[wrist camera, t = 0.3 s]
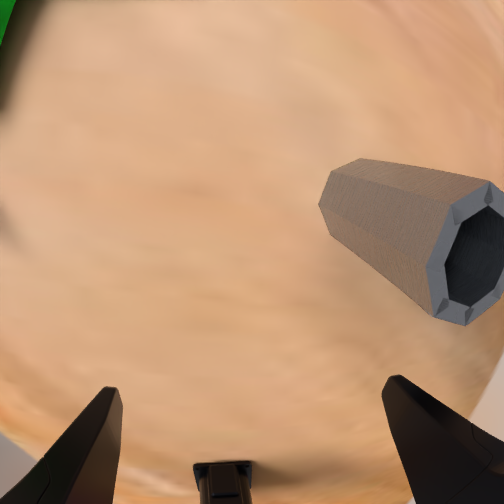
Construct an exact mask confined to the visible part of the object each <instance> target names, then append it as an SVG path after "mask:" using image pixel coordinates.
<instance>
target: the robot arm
mask: <svg viewBox="0 0 504 504" xmlns="http://www.w3.org/2000/svg"><path fill="white" fill-rule="evenodd" d="M382 400H383V404H384V408H385V412H386V415H387V419H388V423H389V427H390V431H391V434H392V437H393V439H394V442H395V445H396V448H397V450H398V453H399V456H400V459H401V461H402V464H403V467H404V470H405V473H406V476H407V478H408V481H409V484H410V487H411V490H412V493H413V496H414V499H415V502H416V504H504V442H503V441H501V440H499V439H497V438H495V437H494V436H492V435H490V434H488V433H487V432H485V431H484V430H482V429H480V428H479V427H477V426H476V425H474V424H473V423H471V422H470V421H468V420H467V419H465V418H464V417H462V416H461V415H459V414H458V413H456V412H455V411H453V410H452V409H450V408H449V407H447V406H446V405H444V404H443V403H441V402H440V401H439V400H437V399H436V398H434V397H433V396H431V395H430V394H428V393H427V392H425V391H424V390H422V389H421V388H419V387H418V386H416V385H415V384H414V383H412V382H411V381H409V380H408V379H406V378H405V377H403V376H402V375H393V376H390V377H389V378H388V380H387V382H386V384H385V386H384V388H383V390H382ZM122 414H123V405H122V401H121V398H120V395H119V391H118V389H117V388H116V387H108V386H106V387H104V388H103V389H102V390H101V391H100V392H99V393H98V394H97V395H96V396H95V398H94V399H93V400H92V401H91V402H90V403H89V404H88V405H87V407H86V408H85V409H84V410H83V411H82V412H81V413H80V415H79V416H78V417H77V418H76V419H75V420H74V421H73V422H72V424H71V425H70V426H69V427H68V428H67V429H66V430H65V432H64V433H63V434H62V435H61V436H60V437H59V439H58V440H57V441H56V442H55V443H54V444H53V445H52V447H51V448H50V449H49V450H48V451H47V452H46V454H45V455H44V457H42V458H41V459H40V460H39V462H38V463H37V464H36V465H35V466H34V467H33V468H32V469H31V470H30V472H29V473H28V474H27V475H26V476H25V477H24V478H23V479H22V480H21V481H19V482H18V483H17V484H16V485H15V486H14V487H13V488H12V489H11V490H10V491H8V492H7V493H6V494H5V495H4V496H3V497H2V498H1V499H0V504H112V503H113V495H114V488H115V481H116V475H117V468H118V462H119V456H120V447H121V429H122ZM193 471H194V475H195V479H196V483H197V487H198V491H199V492H200V504H252V498H251V493H250V489H251V473H252V465H251V462H249V461H246V462H232V463H214V464H194V465H193Z"/></svg>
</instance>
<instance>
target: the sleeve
mask: <svg viewBox="0 0 504 504" xmlns="http://www.w3.org/2000/svg"><path fill="white" fill-rule="evenodd" d="M319 207H320V209H321V212H322V214H323V217H324V219H325V222H326V225H327V227H328V230H329V232H330V235H331V236H333V237H334V238H335V239H337V240H338V241H339V242H341V243H342V244H343V245H345V246H346V247H347V248H348V249H350V250H351V251H352V252H354V253H355V254H356V255H358V256H359V257H360V258H361V259H363V260H364V261H365V262H366V263H368V264H369V265H370V266H372V267H373V268H374V269H375V270H377V271H378V272H379V273H380V274H382V275H383V276H384V277H385V278H387V279H388V280H389V281H390V282H392V283H393V284H394V285H395V286H397V287H398V288H399V289H400V290H401V291H403V292H404V293H405V294H406V295H407V296H409V297H410V298H411V299H412V300H414V301H415V302H416V303H417V304H418V305H419V306H421V307H422V308H423V309H424V310H425V311H427V312H428V313H429V314H430V315H431V316H432V317H434V318H438V319H442V320H445V321H449V322H452V323H456V324H460V325H463V326H466V325H468V324H469V323H470V322H472V321H473V320H474V319H476V318H477V317H478V316H479V315H481V314H482V313H483V312H485V311H486V310H487V309H488V308H490V307H491V306H492V305H493V304H494V303H496V302H497V301H498V300H499V299H500V297H501V295H502V293H503V291H504V193H503V192H502V191H501V190H500V189H499V188H497V187H496V186H495V185H494V184H493V183H492V182H490V181H487V180H483V179H479V178H474V177H469V176H465V175H460V174H455V173H450V172H445V171H439V170H434V169H428V168H422V167H416V166H410V165H404V164H397V163H391V162H384V161H376V160H369V159H358V160H356V161H353V162H351V163H349V164H347V165H344V166H342V167H340V168H338V169H335V170H333V171H331V173H330V176H329V178H328V181H327V183H326V186H325V189H324V191H323V194H322V196H321V199H320V201H319Z"/></svg>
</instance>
